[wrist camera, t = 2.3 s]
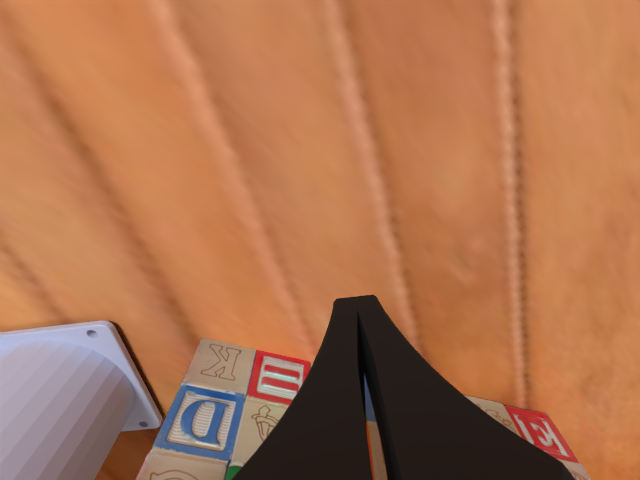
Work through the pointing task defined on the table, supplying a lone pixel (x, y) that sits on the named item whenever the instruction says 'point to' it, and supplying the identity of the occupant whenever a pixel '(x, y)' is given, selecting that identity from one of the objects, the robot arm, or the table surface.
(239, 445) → the stack of blocks
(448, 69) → the table surface
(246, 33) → the table surface
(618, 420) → the table surface
